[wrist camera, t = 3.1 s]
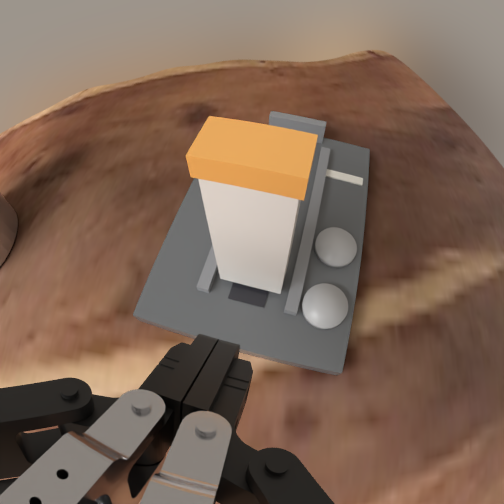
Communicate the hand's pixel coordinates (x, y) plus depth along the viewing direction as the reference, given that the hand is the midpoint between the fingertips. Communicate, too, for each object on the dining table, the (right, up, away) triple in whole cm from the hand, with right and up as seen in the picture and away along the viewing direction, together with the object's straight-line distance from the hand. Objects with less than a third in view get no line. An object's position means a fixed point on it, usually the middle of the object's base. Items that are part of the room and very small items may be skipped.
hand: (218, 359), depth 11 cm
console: (+3, +6, +14) cm, 15 cm away
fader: (+1, +3, +10) cm, 10 cm away
